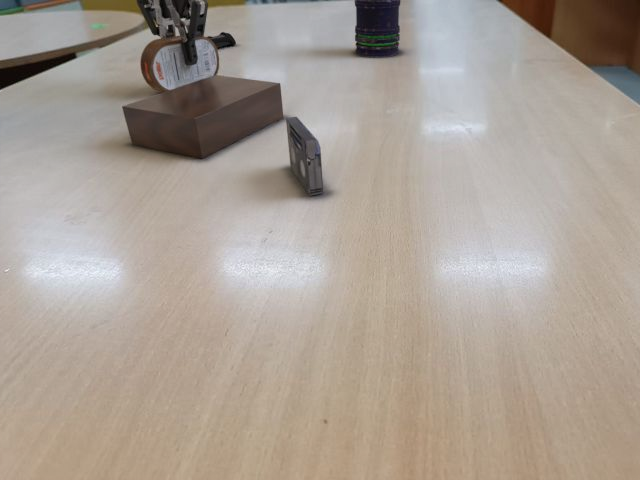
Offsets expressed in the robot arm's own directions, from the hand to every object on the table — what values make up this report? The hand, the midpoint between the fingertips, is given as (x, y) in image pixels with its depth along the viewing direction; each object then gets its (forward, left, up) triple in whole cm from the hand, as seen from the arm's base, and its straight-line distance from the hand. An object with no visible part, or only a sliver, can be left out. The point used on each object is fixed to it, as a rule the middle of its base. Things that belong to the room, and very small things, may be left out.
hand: (183, 63), depth 88 cm
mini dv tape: (+40, -25, -4) cm, 47 cm away
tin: (0, 0, -4) cm, 4 cm away
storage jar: (+18, +41, -4) cm, 45 cm away
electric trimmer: (-19, +28, -4) cm, 34 cm away
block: (+19, -16, -4) cm, 25 cm away
